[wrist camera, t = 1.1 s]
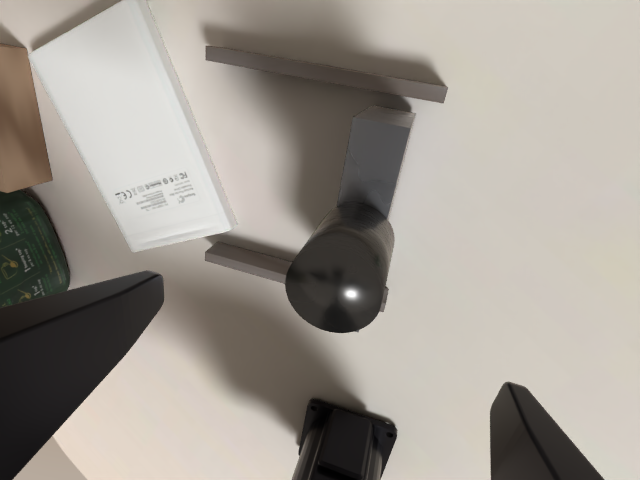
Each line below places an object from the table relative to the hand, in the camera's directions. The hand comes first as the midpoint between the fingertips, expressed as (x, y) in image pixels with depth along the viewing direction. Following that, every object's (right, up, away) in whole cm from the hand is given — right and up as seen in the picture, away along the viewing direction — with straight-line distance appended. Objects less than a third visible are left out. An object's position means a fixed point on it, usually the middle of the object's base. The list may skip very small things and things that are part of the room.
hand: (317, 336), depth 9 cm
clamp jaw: (+3, +5, +10) cm, 11 cm away
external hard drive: (-10, +8, +13) cm, 19 cm away
